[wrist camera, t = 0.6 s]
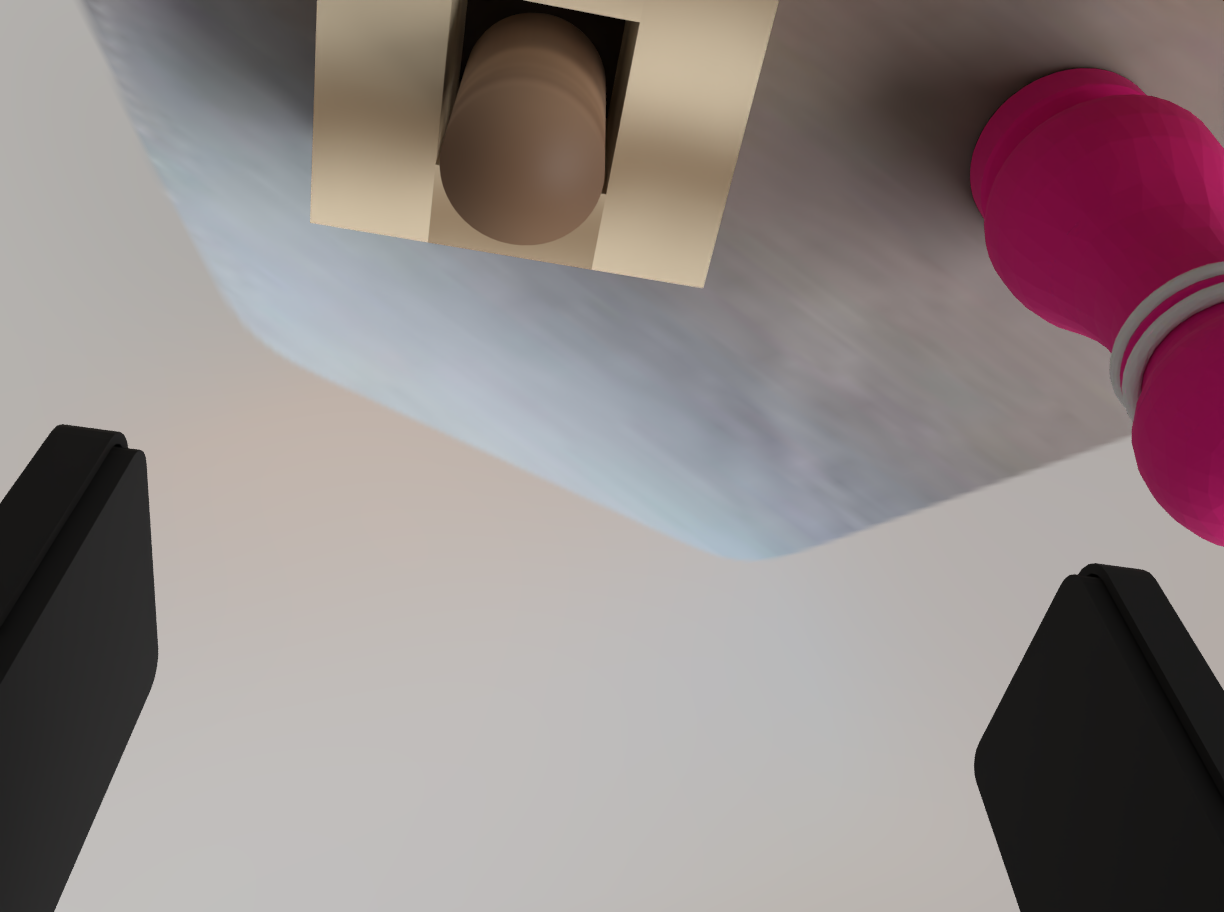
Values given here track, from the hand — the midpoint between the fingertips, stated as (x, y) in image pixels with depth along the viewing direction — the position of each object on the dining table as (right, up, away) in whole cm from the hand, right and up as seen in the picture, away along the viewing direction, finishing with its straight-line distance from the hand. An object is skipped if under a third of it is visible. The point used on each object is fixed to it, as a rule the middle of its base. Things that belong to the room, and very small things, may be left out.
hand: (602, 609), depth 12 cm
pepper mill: (+15, +12, +28) cm, 34 cm away
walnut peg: (-2, +12, +21) cm, 24 cm away
